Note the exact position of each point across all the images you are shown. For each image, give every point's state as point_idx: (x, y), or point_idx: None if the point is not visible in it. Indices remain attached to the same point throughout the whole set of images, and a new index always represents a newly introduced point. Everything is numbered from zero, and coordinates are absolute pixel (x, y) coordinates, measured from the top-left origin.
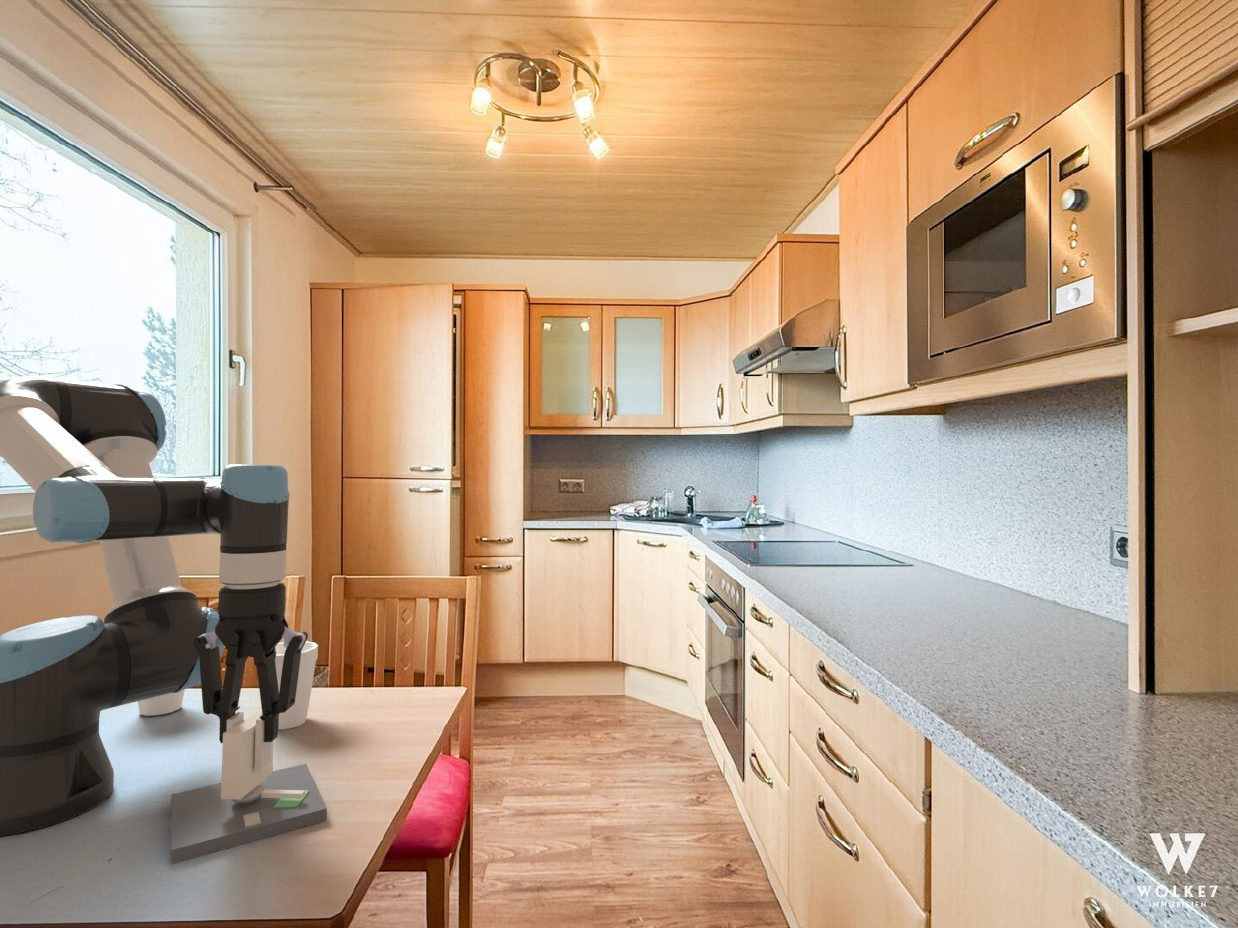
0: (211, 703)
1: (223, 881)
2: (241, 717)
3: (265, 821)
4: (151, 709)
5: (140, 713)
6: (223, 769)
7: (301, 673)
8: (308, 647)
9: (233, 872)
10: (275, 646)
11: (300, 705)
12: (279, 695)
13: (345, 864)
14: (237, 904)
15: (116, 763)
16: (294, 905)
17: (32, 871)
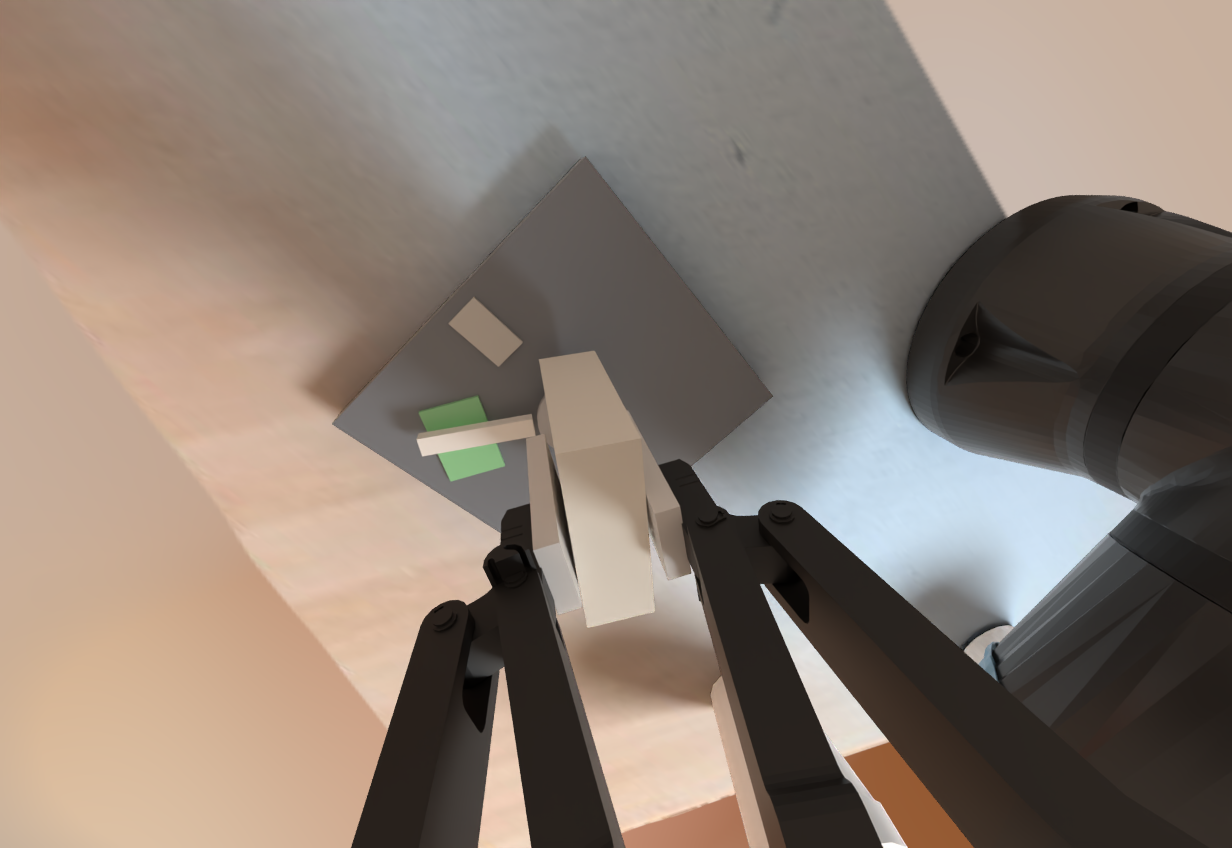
0: (783, 538)
1: (367, 94)
2: (661, 556)
3: (445, 334)
4: (1003, 637)
5: (1013, 627)
6: (604, 381)
7: (757, 812)
8: None
9: (378, 142)
10: None
11: (726, 727)
12: (453, 675)
13: (74, 229)
14: None
15: (961, 491)
16: None
17: (880, 81)
